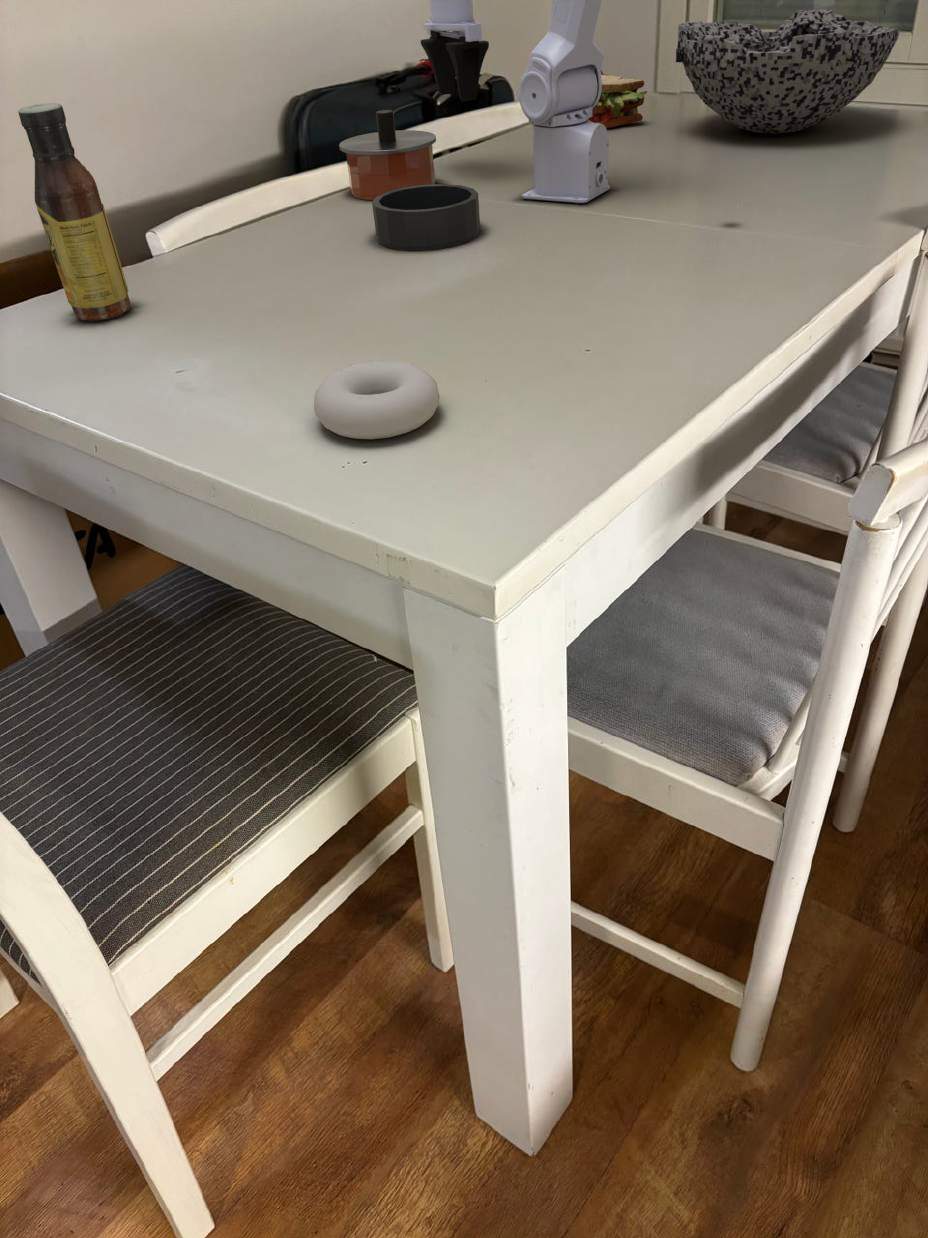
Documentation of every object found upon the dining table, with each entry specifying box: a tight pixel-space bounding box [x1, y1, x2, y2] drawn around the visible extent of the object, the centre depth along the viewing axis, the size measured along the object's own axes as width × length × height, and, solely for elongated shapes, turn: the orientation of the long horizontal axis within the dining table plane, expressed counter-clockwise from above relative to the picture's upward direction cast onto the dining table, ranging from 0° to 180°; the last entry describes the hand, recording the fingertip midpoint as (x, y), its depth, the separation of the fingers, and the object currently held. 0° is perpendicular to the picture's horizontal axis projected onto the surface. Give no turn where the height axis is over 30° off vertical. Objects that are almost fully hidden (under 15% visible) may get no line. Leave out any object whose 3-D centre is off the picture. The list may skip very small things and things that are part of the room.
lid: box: [338, 109, 437, 155], centre depth 132 cm, size 14×14×5 cm
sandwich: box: [588, 69, 648, 129], centre depth 161 cm, size 16×12×8 cm
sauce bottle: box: [17, 102, 132, 322], centre depth 96 cm, size 7×6×20 cm
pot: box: [345, 144, 436, 201], centre depth 135 cm, size 12×12×6 cm
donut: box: [313, 360, 440, 440], centre depth 75 cm, size 10×4×10 cm
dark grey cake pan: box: [371, 183, 481, 252], centre depth 116 cm, size 13×13×4 cm
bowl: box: [675, 9, 901, 135], centre depth 146 cm, size 31×31×15 cm
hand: (457, 96), depth 134 cm, fingers open, 7 cm apart
